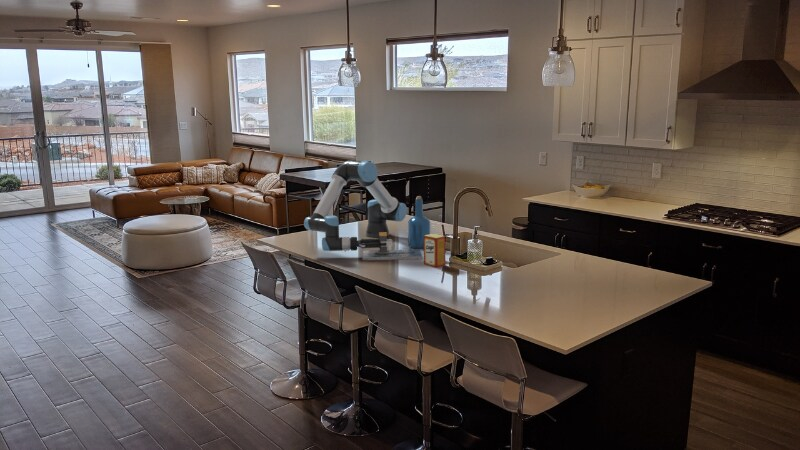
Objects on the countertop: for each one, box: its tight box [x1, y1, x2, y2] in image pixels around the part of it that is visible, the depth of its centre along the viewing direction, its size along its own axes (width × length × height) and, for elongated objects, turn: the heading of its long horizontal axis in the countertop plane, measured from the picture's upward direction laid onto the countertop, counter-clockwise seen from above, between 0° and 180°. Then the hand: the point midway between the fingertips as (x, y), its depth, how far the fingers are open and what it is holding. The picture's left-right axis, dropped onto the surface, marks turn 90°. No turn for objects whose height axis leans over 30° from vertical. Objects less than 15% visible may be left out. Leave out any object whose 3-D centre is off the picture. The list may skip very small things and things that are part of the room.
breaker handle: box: [377, 232, 390, 254], centre depth 354 cm, size 4×6×11 cm
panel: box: [362, 248, 422, 261], centre depth 355 cm, size 16×32×2 cm, turn 92°
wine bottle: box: [407, 195, 432, 250], centre depth 374 cm, size 14×13×30 cm
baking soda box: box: [423, 233, 446, 268], centre depth 334 cm, size 10×6×16 cm
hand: (392, 242), depth 354 cm, fingers closed on breaker handle, 4 cm apart
